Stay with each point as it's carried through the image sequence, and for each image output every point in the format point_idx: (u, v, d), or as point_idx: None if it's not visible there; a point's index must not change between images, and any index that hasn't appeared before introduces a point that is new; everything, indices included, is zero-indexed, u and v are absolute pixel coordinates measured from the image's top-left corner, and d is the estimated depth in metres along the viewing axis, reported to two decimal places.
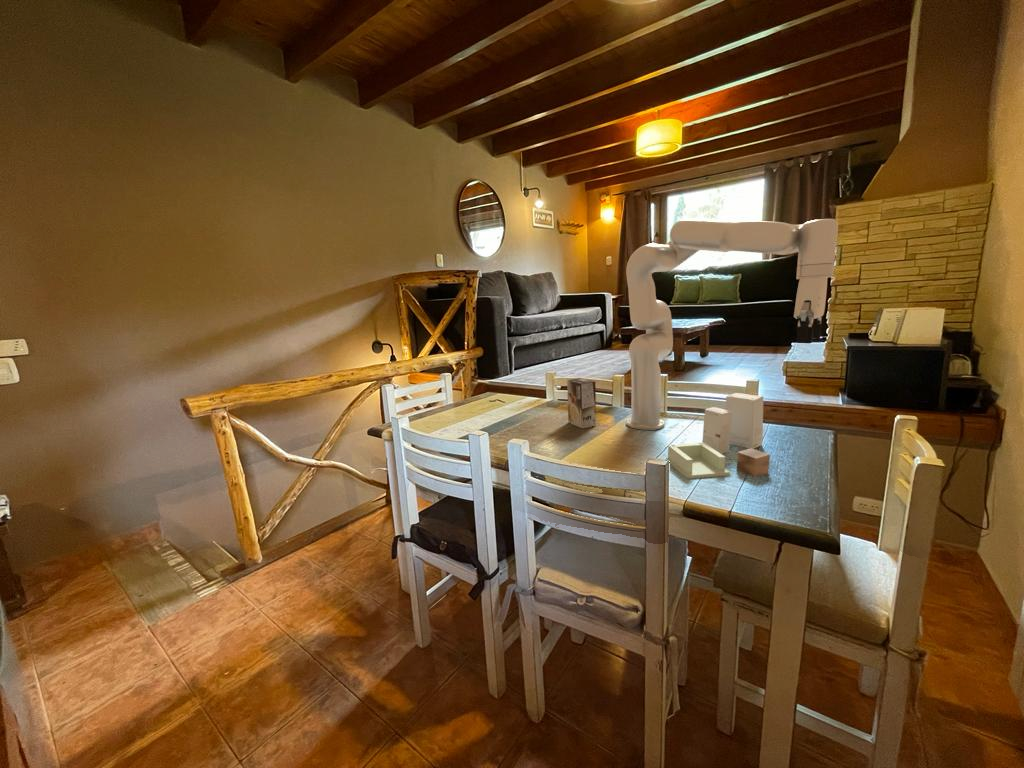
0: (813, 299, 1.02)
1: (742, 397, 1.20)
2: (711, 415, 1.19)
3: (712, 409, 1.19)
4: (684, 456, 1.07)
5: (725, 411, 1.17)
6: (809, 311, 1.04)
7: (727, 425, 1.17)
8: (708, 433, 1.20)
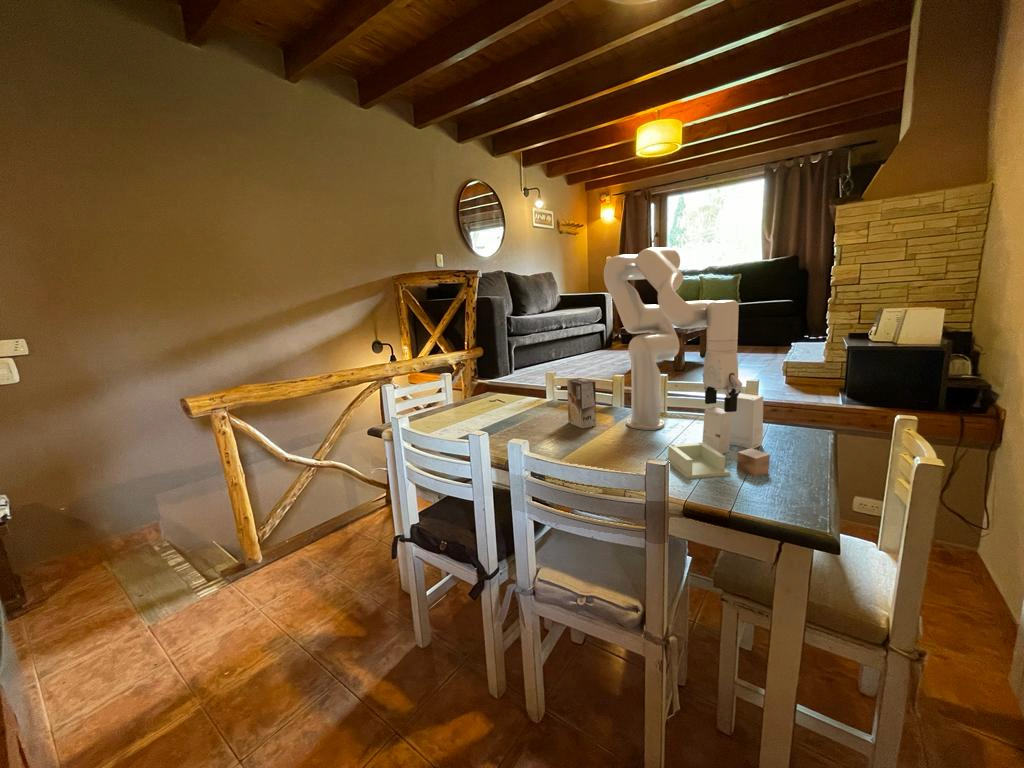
0: (736, 372, 1.11)
1: (742, 397, 1.20)
2: (710, 415, 1.19)
3: (712, 409, 1.19)
4: (684, 456, 1.07)
5: None
6: (728, 382, 1.13)
7: (727, 425, 1.17)
8: (708, 433, 1.20)
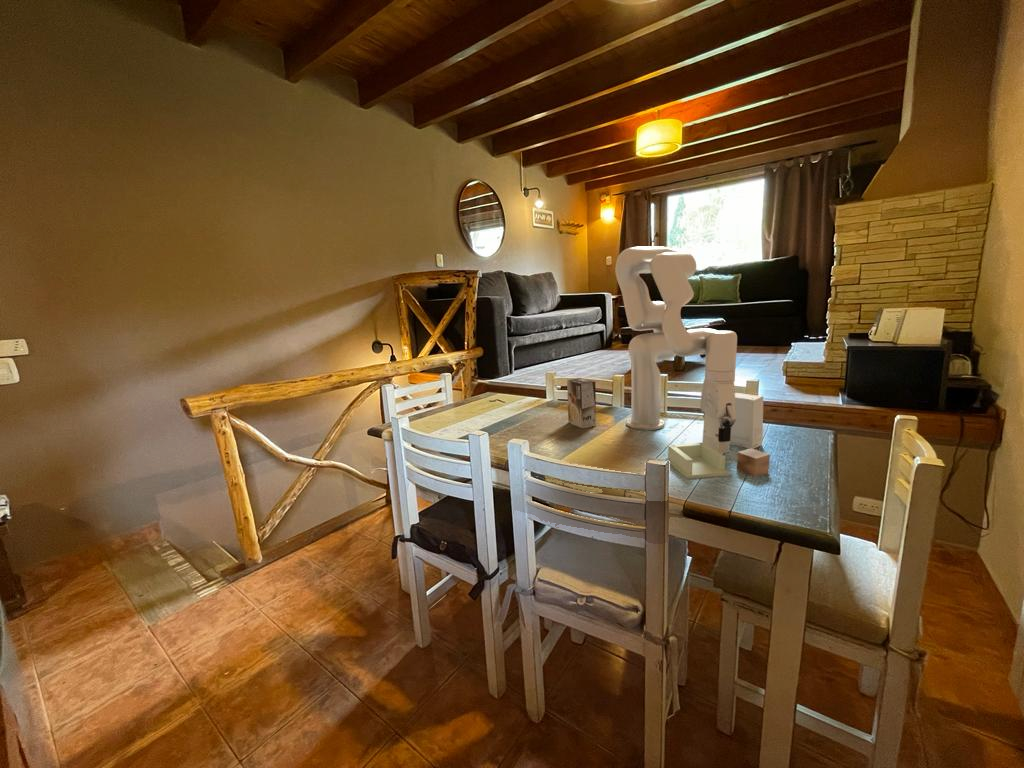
0: (733, 402, 1.13)
1: (742, 397, 1.20)
2: None
3: None
4: (684, 456, 1.07)
5: None
6: (725, 411, 1.15)
7: None
8: (708, 433, 1.20)
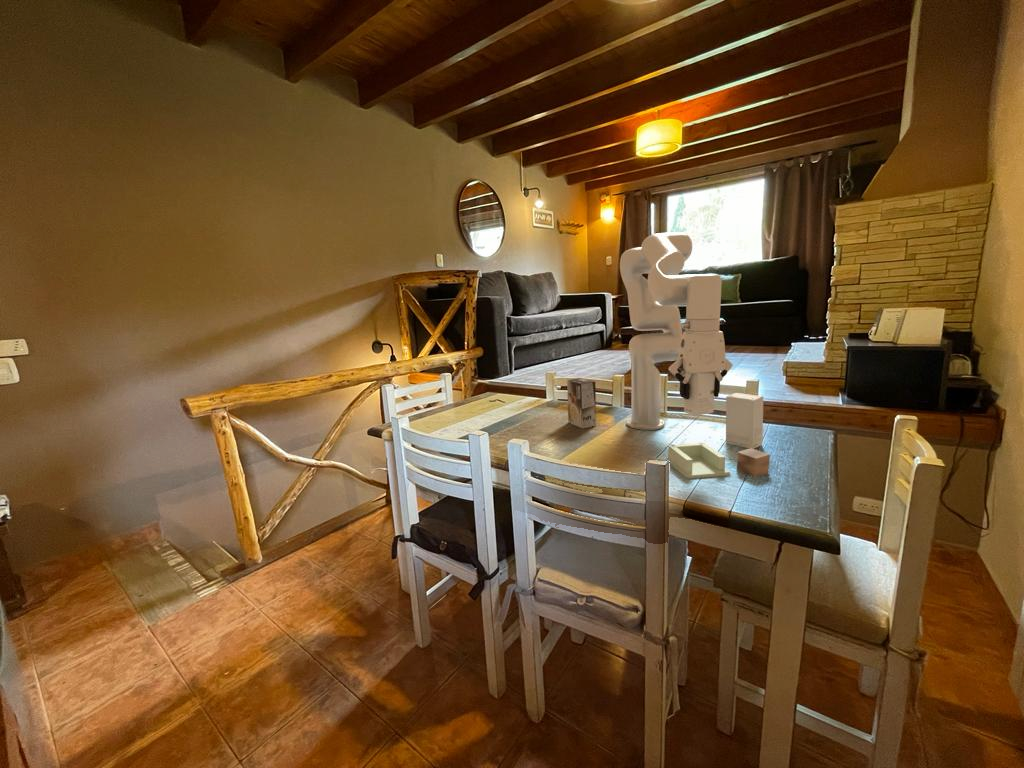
0: None
1: (742, 397, 1.20)
2: (704, 373, 1.03)
3: None
4: (684, 456, 1.07)
5: None
6: None
7: None
8: (703, 395, 1.04)
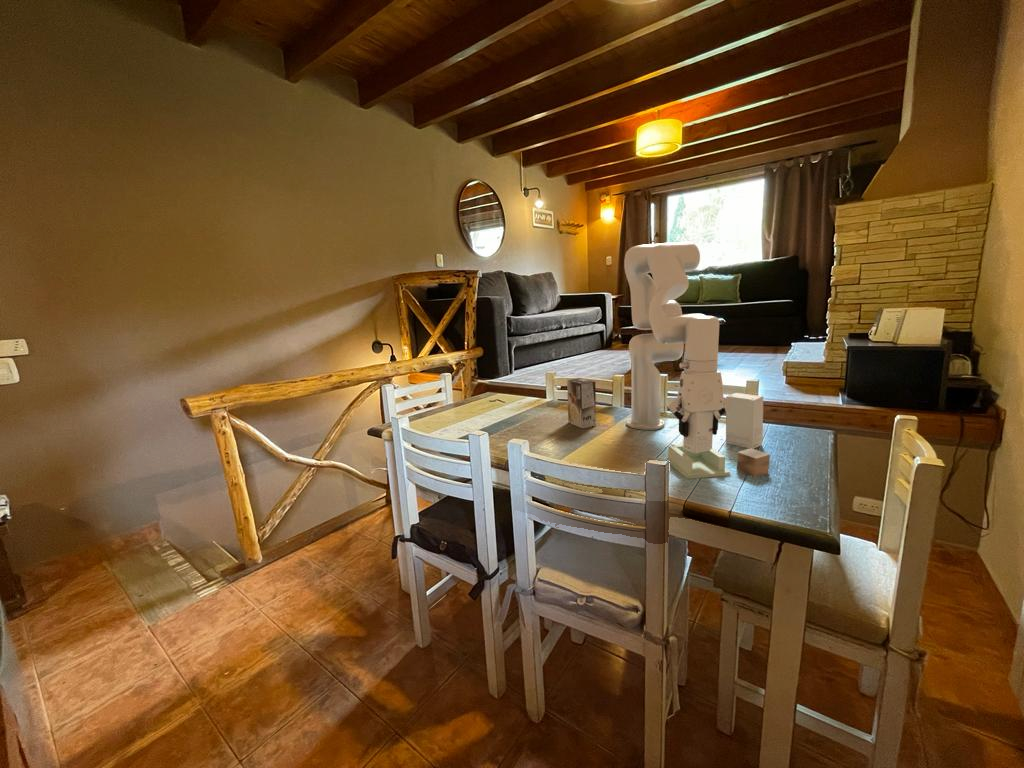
0: None
1: (742, 397, 1.20)
2: (703, 412, 1.05)
3: None
4: (684, 456, 1.07)
5: None
6: None
7: None
8: (702, 433, 1.06)
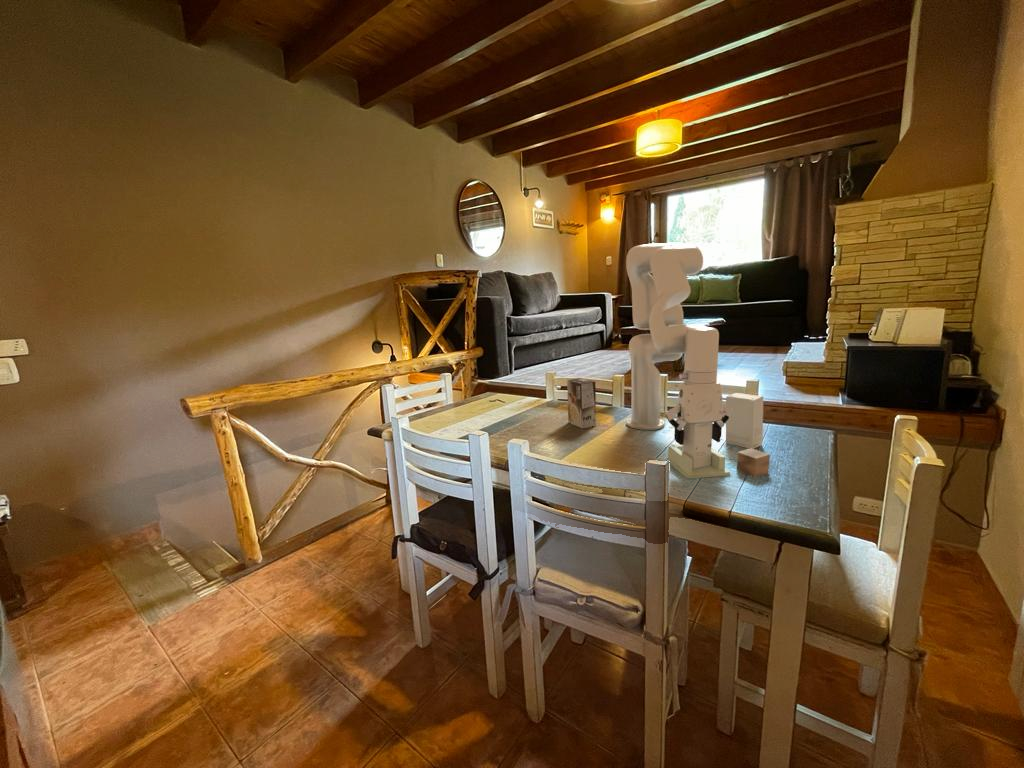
0: None
1: (742, 397, 1.20)
2: (701, 428, 1.06)
3: None
4: (684, 456, 1.07)
5: None
6: None
7: None
8: (700, 448, 1.07)
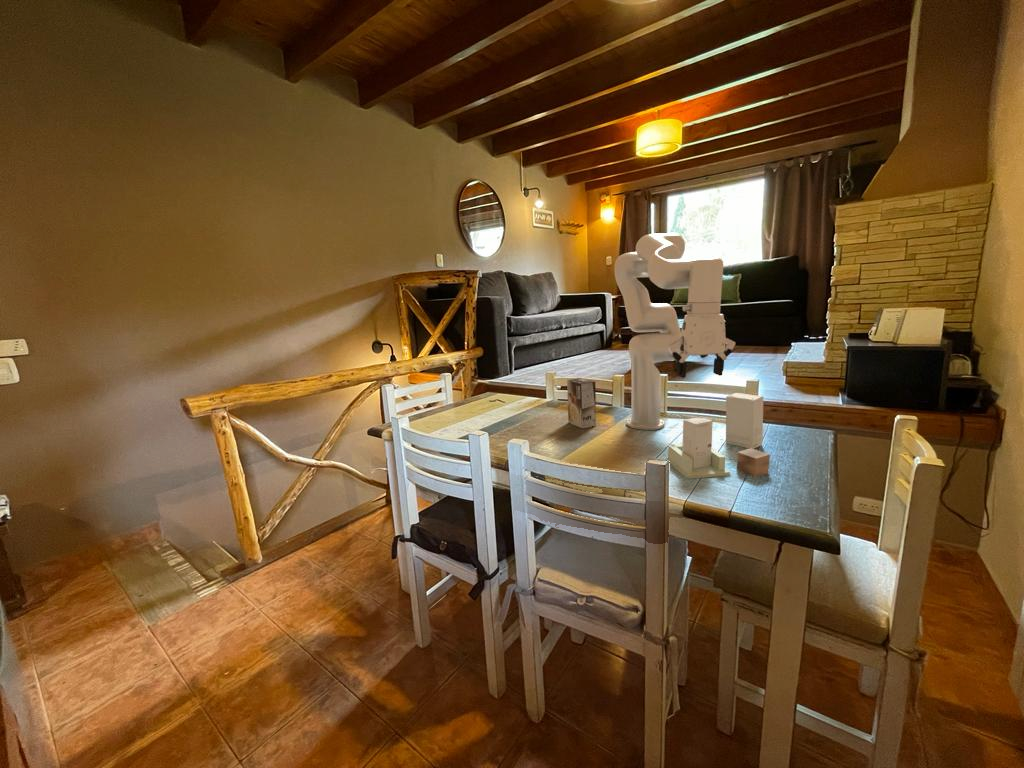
0: None
1: (742, 397, 1.20)
2: (701, 428, 1.06)
3: (696, 421, 1.07)
4: (684, 456, 1.07)
5: (702, 418, 1.09)
6: None
7: None
8: (700, 448, 1.07)
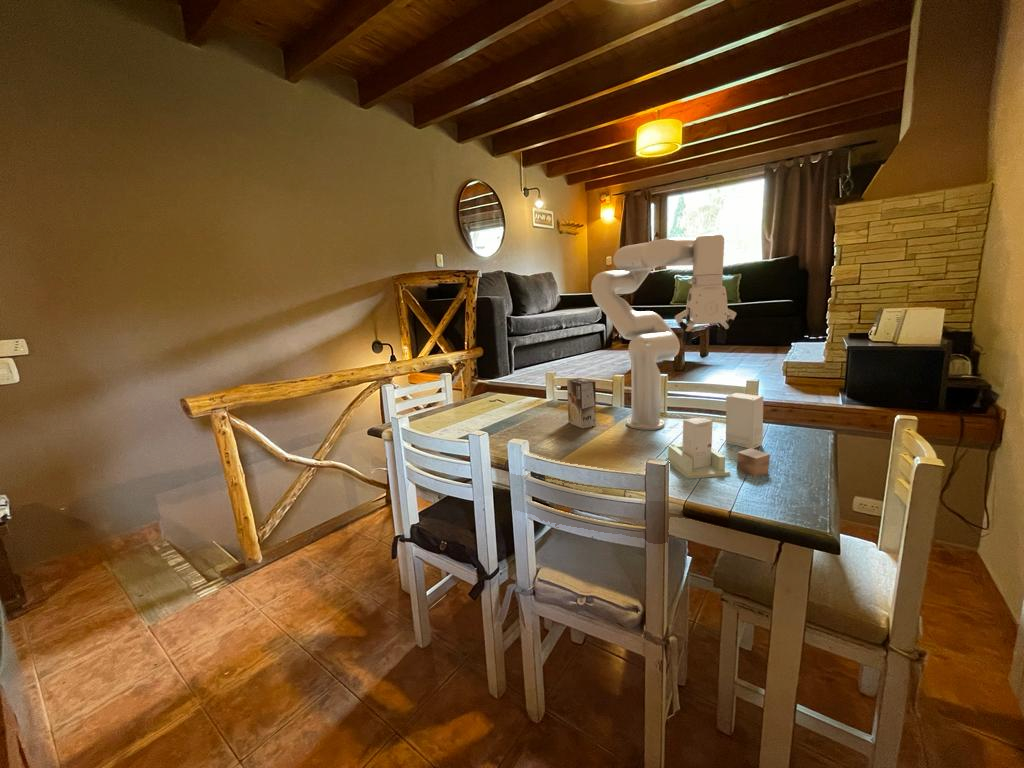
0: None
1: (742, 397, 1.20)
2: (701, 428, 1.06)
3: (696, 421, 1.07)
4: (684, 456, 1.07)
5: (702, 418, 1.09)
6: None
7: None
8: (700, 448, 1.07)
